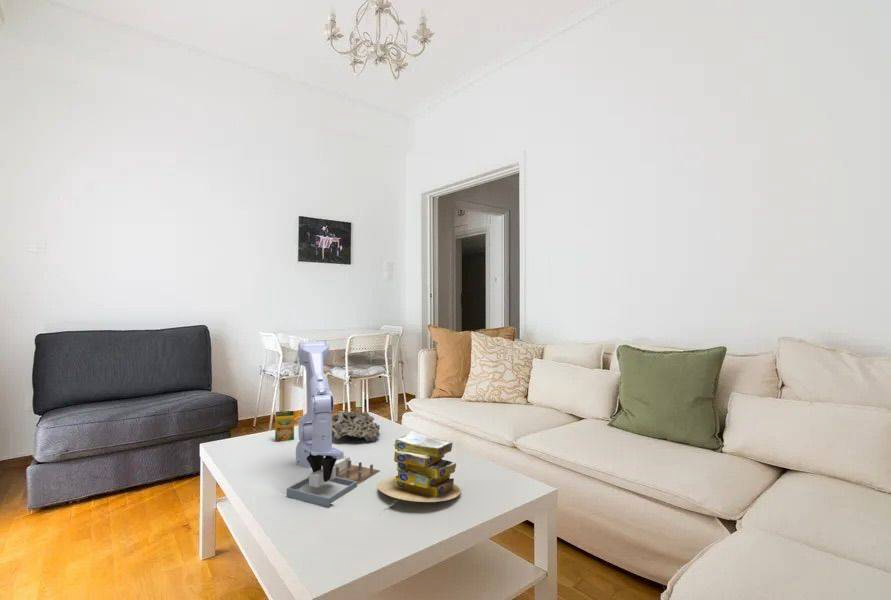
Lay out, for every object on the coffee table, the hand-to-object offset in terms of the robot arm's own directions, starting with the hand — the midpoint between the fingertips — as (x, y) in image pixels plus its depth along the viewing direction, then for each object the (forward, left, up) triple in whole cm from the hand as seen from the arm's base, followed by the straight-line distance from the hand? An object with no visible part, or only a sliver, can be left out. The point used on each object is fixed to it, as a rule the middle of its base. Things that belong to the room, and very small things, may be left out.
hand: (322, 479), depth 136 cm
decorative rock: (-26, +50, -5) cm, 56 cm away
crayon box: (-48, +32, -4) cm, 58 cm away
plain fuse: (-6, +14, -3) cm, 15 cm away
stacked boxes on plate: (+26, +13, -5) cm, 30 cm away
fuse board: (-1, +14, -4) cm, 15 cm away
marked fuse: (0, 0, -1) cm, 1 cm away
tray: (0, 0, -4) cm, 4 cm away
